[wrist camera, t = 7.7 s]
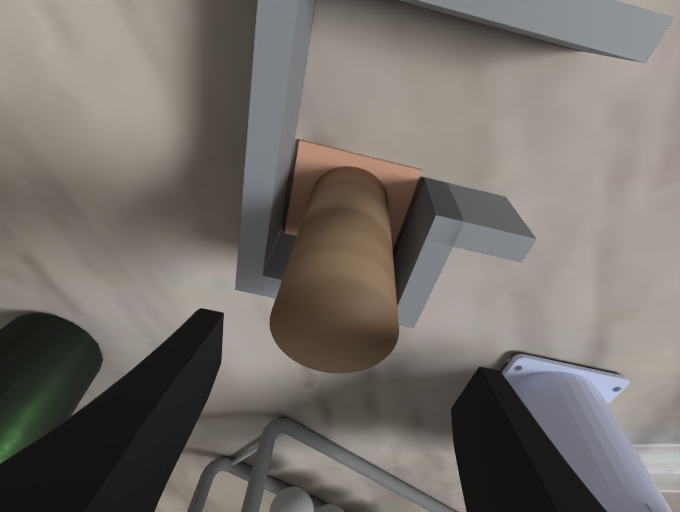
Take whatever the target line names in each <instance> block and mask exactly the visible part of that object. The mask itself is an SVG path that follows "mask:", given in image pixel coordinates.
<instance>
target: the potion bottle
mask: <svg viewBox="0 0 680 512" xmlns="http://www.w3.org/2000/svg"><path fill="white" fill-rule="evenodd" d="M102 361H103V358H102V354H101V351H100V348H99V346H98V344H97V343H96V341H95V340H94V339H93V338H92V337H91V336H90V335H89V334H88V333H87V332H86V331H84V330H83V329H81V328H80V327H78V326H77V325H75V324H74V323H72V322H69V321H67V320H64V319H62V318H59V317H57V316H51V315H44V314H31V315H26V316H20V317H17V318H16V319H15V320H13V321H12V322H10V323H9V324H8V325H6V326H5V327H4V328H2V329H1V330H0V463H2V462H3V461H5V460H6V459H8V458H9V457H11V456H12V455H14V454H16V453H17V452H19V451H20V450H22V449H23V448H25V447H26V446H28V445H29V444H31V443H33V442H34V441H36V440H37V439H39V438H40V437H42V436H43V435H45V434H46V433H48V432H49V431H51V430H52V429H53V428H55V427H56V426H58V425H59V424H61V423H62V422H64V421H65V420H66V419H68V418H69V417H70V416H71V415H72V413H73V412H74V410H75V408H76V407H77V405H78V404H79V402H80V400H81V399H82V397H83V396H84V394H85V392H86V391H87V389H88V388H89V386H90V384H91V383H92V381H93V380H94V378H95V376H96V375H97V373H98V372H99V370H100V368H101V364H102Z"/></svg>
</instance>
